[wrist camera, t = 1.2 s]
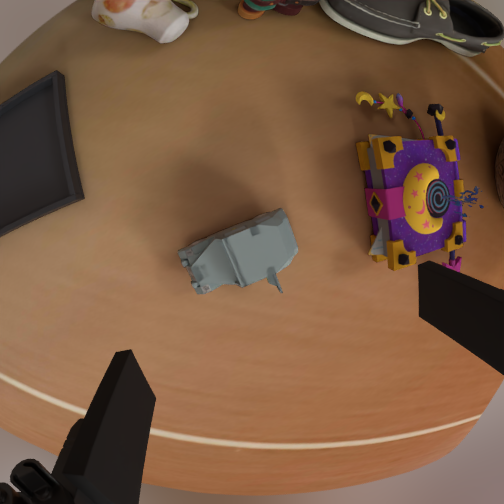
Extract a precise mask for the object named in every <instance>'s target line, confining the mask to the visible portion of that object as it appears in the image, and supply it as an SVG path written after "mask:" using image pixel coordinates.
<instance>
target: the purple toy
mask: <svg viewBox="0 0 504 504" xmlns="http://www.w3.org/2000/svg"><path fill="white" fill-rule="evenodd" d="M378 95H379V97H380V99H381V101H382V102H378V101H376V100H373V98H372V97H371V96H370V95H369V94H368V93H366V92H364V91H363V92H359V93H358V94H357V95H356V101H357V103H358V104H359V105H360V103H361V101H362V100H367V101H368V102H369V103H370V105H371V106H372V104H373V103H380V104H382V105H381V106H380V107H379V108H378V109H386V111H387V113H388V115H389V117H390V118H392V114H393V109H399V111H402V112H404V113H405V116H406V117H407V118H408V119H409V118H411V117H412V120H414V121H415V122H416V124H417V125H418V127H419V129H420V131H421V134H422V137H423V139H414V140H413V139H406V138H401V136H396V137H391V136H382V135H372V134H368V137H369V141H366V142H358V143H356V147H357V152H358V157H359V163H360V168H361V170H365V175H366V181H367V187H368V188H365V194H366V200H367V208H368V215H369V216H372V223H373V232H374V235H370V238H371V248H370V250H369V252H368V255H372V259H373V261H375V262H380V261H383V260H386V259H388V268H389V269H391V270H393V271H396V270H399V269H402V268H405V267H408V266H411V265H413V264H416V257H417V256H420V255H423V254H426V253H429V252H431V251H434V250H437V249H440V248H441V250H443V251H446V252H450V259H449V265H448V264H446V263H443V262H442V265H443V266H445V267H447V268H450V269H452V270H455V271H457V272H460V266H461V259H462V257H459V256H458V257H457V258H456V259H455V249H458V248H461V247H463V242H465V241H466V221H465V220H463V219H462V216H463V217H467V215H466V214H465V213H464V214H462V206H463V205H462V204H461V203H462V202H466V203H469V202H470V201H472V200H475V201H477V199H478V198H471V196H470V195H468V197H469V198H467V197H466V196H464V194H465V193H466V192H469V193H472V194H471V195H476V194H478V189H479V188H477V186H475V188H474V191H476V193H473V192H471V191H468V190H467V191H465V192H464V186H463V179H459V173H458V165H457V160H460V154H459V148H458V142H457V139H453V136H444V135H443V130H442V125H441V121H442V120H444V118H445V112H444V111H443V107H442V106H441V105H440V104H429V107H428V110H427V113H428V114H430V115H431V116H434V119H435V123H436V128H437V133H438V136H433V137H429V139H424V135H423V132H422V130H421V128H420V126H419V124H418V123H417V121H416V120H415V117H414V116H412V115H413V112H412V111H411V110H410V109H408V110H406V109H405V108H404V107H403V98H402V96H401V95H400V94H399V93H398V94H397V96H396V98H397V101H398V104H399V106H401V107H402V108H403V109H404V110H405V111H406V112H405V111H404V110H402V108H399V107H398V106H397V105H395V104H394V103H393V94H392V95H390V96H389V97H388V98H386V97H385V96H384V95H382V94H381V93H379V94H378ZM442 111H443V113H442ZM481 192H482V191H481ZM464 200H465V201H464ZM461 201H462V202H461ZM467 201H468V202H467ZM470 203H472V202H470ZM463 204H464V203H463ZM472 204H473V203H472ZM475 204H476V203H475ZM469 206H470V205H469ZM479 206H480V208H483V206H482V205H479ZM470 207H472V206H470ZM469 217H470V216H469Z"/></svg>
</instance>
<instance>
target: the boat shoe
mask: <svg viewBox="0 0 504 504" xmlns="http://www.w3.org/2000/svg"><path fill="white" fill-rule="evenodd" d="M319 3H320V5H321V7H322V9H323V10H324V12H325V13H326V14H327V15H328V16H329V17H330V18H332V19H333V20H334V21H336V22H338V23H339V24H341V25H343V26H345V27H346V28H348V29H351V30H353V31H355V32H357V33H359V34H362V35H364V36H367V37H370V38H373V39H376V40H379V41H382V42H386V43H391V44H398V45H402V44H407V43H410V42H413V41H416V40H420V39H431V40H435V41H438V42H440V43H442V44H443V45H445V46H446V47H447V48H448V49H450V50H452V51H455V52H457V53H459V54H462V55H464V56H468V57H472V56H475V55H477V54H480V53H481V52H483V53H485V51H486V49H487V48H489V47H490V46H496V45H499V44H500V42H501V41H502V40H503V38H504V27H503V25H502V23H501V21H500V20H499V19H498V18H497V17H495V16H494V15H493V14H492V13H491V12H489V11H488V10H487V9H485V8H484V7H482V6H481V5H479V4H478V3H476V2H475V1H473V0H320V1H319Z"/></svg>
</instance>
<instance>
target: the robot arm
mask: <svg viewBox="0 0 504 504" xmlns="http://www.w3.org/2000/svg"><path fill="white" fill-rule="evenodd" d="M418 279H419V317H421V318H422V319H424V320H425V321H427V322H428V323H430V324H431V325H432V326H434V327H435V328H437V329H438V330H440V331H441V332H443V333H444V334H446V335H447V336H449V337H450V338H452V339H453V340H455V341H456V342H457V343H459V344H460V345H462V346H463V347H465V348H466V349H468V350H469V351H470V352H472V353H473V354H475V355H476V356H478V357H479V358H480V359H482V360H483V361H485V362H486V363H487V364H489V365H490V366H492V367H493V368H494V369H496V370H497V371H498V372H500V373H501V374H503V375H504V290H503V289H498V288H496V287H494V286H491V285H489V284H487V283H484V282H482V281H479V280H477V279H475V278H472V277H470V276H467V275H465V274H462V273H460V272H457V271H455V270H452V269H450V268H447V267H445V266H442V265H440V264H437V263H435V262H432V261H427V262H424V263H422V264H419V265H418ZM155 401H156V397H155V395H154V393H153V391H152V390H151V388H150V386H149V384H148V382H147V380H146V378H145V376H144V374H143V372H142V370H141V368H140V366H139V364H138V362H137V360H136V358H135V356H134V354H133V352H132V350H131V349H130V350H125V351H120V352H116V353H115V355H114V357H113V359H112V361H111V363H110V365H109V367H108V369H107V371H106V373H105V375H104V377H103V379H102V381H101V383H100V385H99V387H98V389H97V391H96V394H95V396H94V398H93V400H92V402H91V404H90V407H89V409H88V411H87V413H86V415H85V418H84V419H79V420H78V421H77V422H76V423H75V424H74V425H73V426H72V428H71V429H70V432H69V434H68V436H67V440H65V443H64V445H63V448H62V449H61V452H60V454H59V456H58V459H57V461H56V464H55V466H54V468H53V471H52V473H51V474H50V473H49V472H48V471H47V470H46V469H45V468H44V466H43V465H42V464H41V463H39V461H36V460H35V459H26V460H23V461H21V462H20V463H18V464H17V465H16V466H15V468H14V469H13V470H12V473H11V475H10V481H11V483H12V484H13V485H14V486H15V487H17V488H18V489H19V490H20V491H21V492H16V491H15V490H14V489H13V488H12V487H11V486H10V485H8V484H6V483H0V504H139V495H140V488H141V482H142V475H143V468H144V462H145V456H146V450H147V444H148V438H149V433H150V427H151V422H152V417H153V412H154V406H155Z"/></svg>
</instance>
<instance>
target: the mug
mask: <svg viewBox="0 0 504 504" xmlns="http://www.w3.org/2000/svg"><path fill="white" fill-rule="evenodd" d="M173 1H176V2H179V3H181V4H183V5H185V6H187V7H189V8H191V11H190V12H184V11H183V10H181V9H180V8H179V7H177V6H176V5H175V4H174V3H173V2H172V1H171V0H94V3H93V7H92V17H93V19H94V20H96V21H97V22H99V23H100V24H102V25H104V26H107V27H110V28H115V29H122V30H129V31H136V32H140V33H144V34H146V35H148V36H149V37H151V38H153V39H154V40H156V41H157V42H159V43H169V42H172V41H174V40H175V39H176V38H178V37H179V36H180V35H181V34H182V33H183V32H184V31H185V29H186V28H187V26H188V24H189V19H193V18H195V17H196V16H197V15H198V7H197V5H196V4H195V3H194V2H192V1H190V0H173Z"/></svg>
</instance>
